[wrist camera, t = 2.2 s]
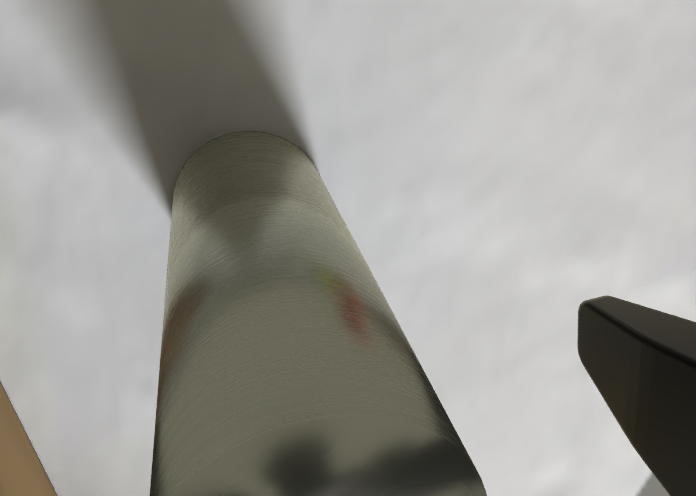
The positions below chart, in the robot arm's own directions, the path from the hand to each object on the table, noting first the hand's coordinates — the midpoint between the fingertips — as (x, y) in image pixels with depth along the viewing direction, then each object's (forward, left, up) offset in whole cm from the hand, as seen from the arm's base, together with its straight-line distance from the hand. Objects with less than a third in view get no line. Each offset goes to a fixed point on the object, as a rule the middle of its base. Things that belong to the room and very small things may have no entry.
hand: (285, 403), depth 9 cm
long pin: (0, 0, -7) cm, 7 cm away
